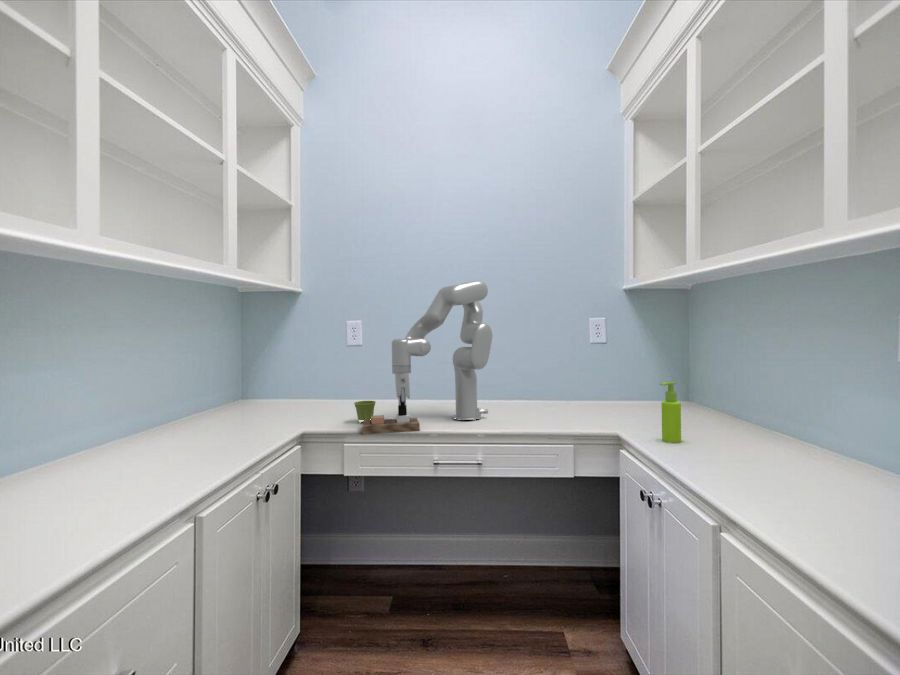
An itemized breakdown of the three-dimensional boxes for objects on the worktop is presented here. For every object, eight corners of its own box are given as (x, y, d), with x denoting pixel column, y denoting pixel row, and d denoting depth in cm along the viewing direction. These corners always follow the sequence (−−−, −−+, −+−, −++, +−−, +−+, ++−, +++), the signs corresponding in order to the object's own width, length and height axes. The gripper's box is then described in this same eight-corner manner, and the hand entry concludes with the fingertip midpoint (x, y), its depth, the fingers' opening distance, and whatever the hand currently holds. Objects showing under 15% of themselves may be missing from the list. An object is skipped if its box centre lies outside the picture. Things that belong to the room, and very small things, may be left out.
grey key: (408, 423, 187) (408, 413, 187) (409, 426, 182) (409, 415, 182) (396, 424, 186) (396, 414, 186) (397, 426, 181) (397, 416, 181)
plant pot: (369, 424, 193) (369, 404, 193) (350, 423, 196) (349, 403, 196) (380, 420, 202) (379, 400, 202) (361, 419, 205) (360, 400, 205)
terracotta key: (384, 424, 185) (383, 415, 185) (384, 427, 180) (384, 417, 180) (371, 425, 184) (371, 415, 184) (371, 428, 179) (371, 418, 179)
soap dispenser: (655, 440, 157) (655, 381, 156) (671, 438, 159) (670, 380, 159) (669, 444, 151) (668, 383, 151) (685, 441, 154) (684, 382, 153)
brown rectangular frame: (416, 424, 191) (416, 417, 191) (419, 430, 179) (419, 423, 179) (362, 427, 187) (362, 420, 187) (362, 434, 175) (362, 426, 175)
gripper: (412, 370, 177) (413, 418, 177) (409, 367, 192) (410, 411, 192) (393, 371, 176) (394, 419, 176) (391, 368, 190) (392, 412, 190)
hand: (402, 415), depth 184 cm, fingers closed
